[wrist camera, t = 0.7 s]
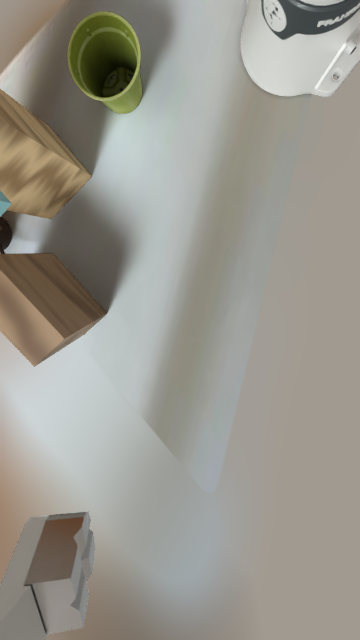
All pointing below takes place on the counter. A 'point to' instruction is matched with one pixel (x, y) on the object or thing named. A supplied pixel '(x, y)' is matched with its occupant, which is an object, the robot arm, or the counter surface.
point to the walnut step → (43, 305)
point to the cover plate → (3, 203)
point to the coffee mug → (4, 235)
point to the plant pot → (106, 61)
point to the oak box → (35, 163)
